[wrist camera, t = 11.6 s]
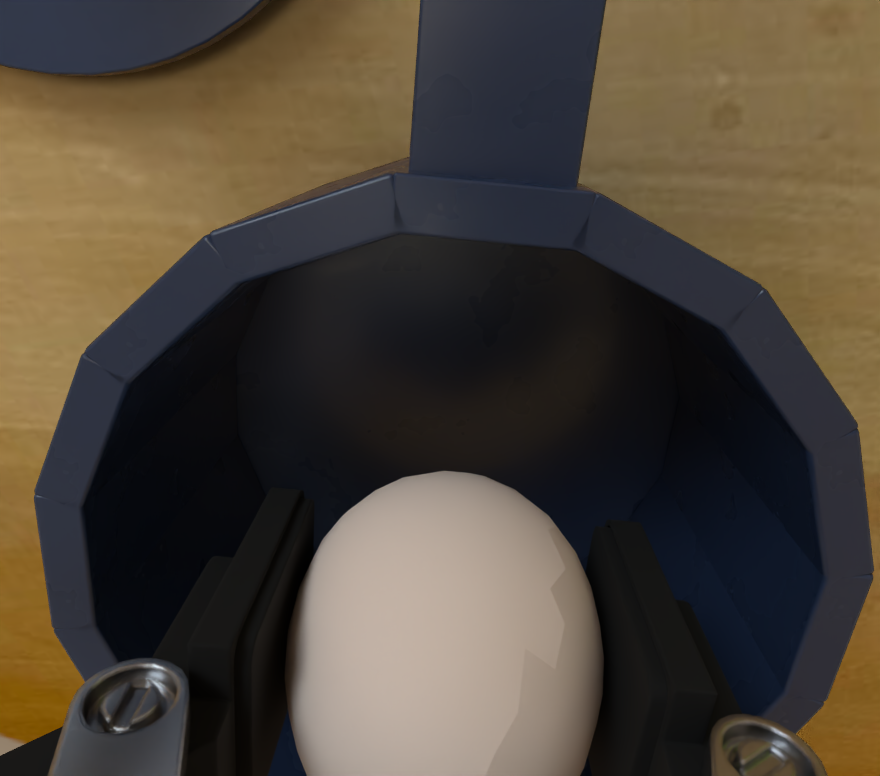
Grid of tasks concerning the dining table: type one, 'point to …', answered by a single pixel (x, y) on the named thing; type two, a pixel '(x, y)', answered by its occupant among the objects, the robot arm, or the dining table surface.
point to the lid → (113, 33)
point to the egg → (444, 638)
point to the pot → (468, 380)
